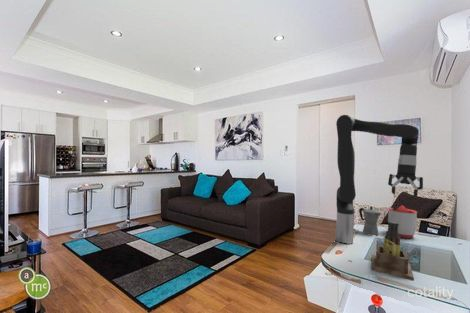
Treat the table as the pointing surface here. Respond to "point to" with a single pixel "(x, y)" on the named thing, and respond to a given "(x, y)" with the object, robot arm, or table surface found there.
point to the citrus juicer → (404, 221)
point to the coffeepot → (370, 220)
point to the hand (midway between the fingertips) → (403, 195)
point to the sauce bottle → (392, 240)
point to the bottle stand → (392, 263)
